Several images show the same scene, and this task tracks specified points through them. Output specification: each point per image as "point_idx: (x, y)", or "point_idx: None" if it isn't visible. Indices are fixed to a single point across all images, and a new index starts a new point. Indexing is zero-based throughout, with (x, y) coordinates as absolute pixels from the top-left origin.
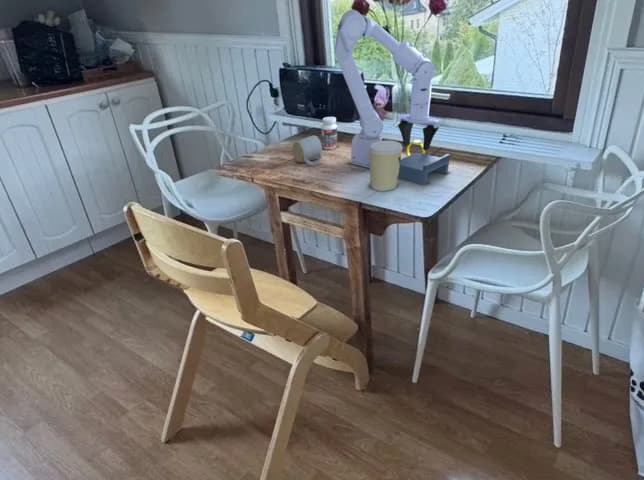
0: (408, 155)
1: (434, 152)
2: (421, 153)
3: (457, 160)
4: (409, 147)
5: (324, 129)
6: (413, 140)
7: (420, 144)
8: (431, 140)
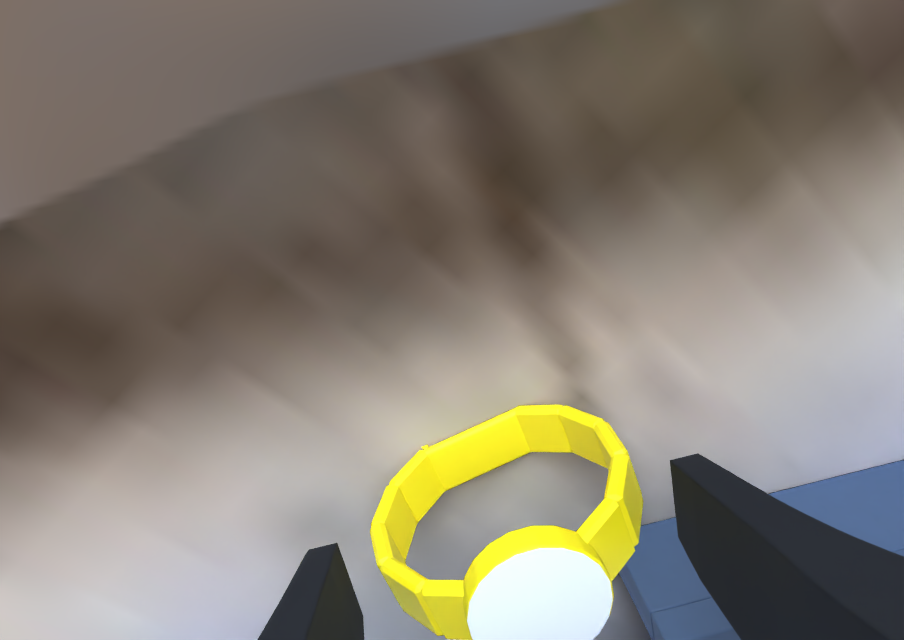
0: (422, 516)
1: (453, 74)
2: None
3: (901, 85)
4: (394, 554)
5: None
6: (470, 633)
7: (613, 573)
8: (796, 516)
